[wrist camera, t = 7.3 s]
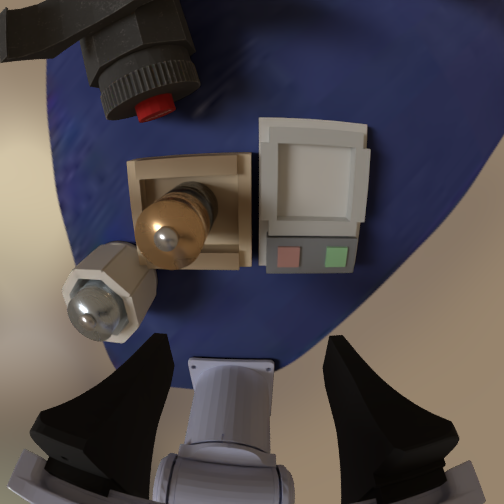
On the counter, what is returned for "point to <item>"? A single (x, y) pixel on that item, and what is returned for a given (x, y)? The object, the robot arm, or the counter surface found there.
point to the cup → (117, 282)
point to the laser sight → (112, 49)
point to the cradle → (311, 194)
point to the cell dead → (96, 310)
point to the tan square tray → (224, 188)
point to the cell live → (176, 225)
